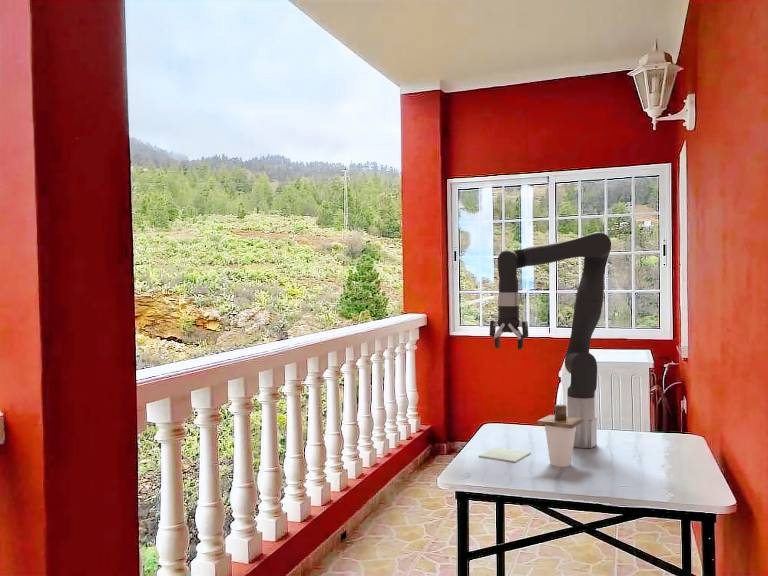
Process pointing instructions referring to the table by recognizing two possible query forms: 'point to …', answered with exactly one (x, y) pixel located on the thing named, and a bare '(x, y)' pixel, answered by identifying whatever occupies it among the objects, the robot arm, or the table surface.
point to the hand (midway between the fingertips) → (508, 348)
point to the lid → (560, 419)
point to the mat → (505, 454)
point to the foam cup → (560, 445)
